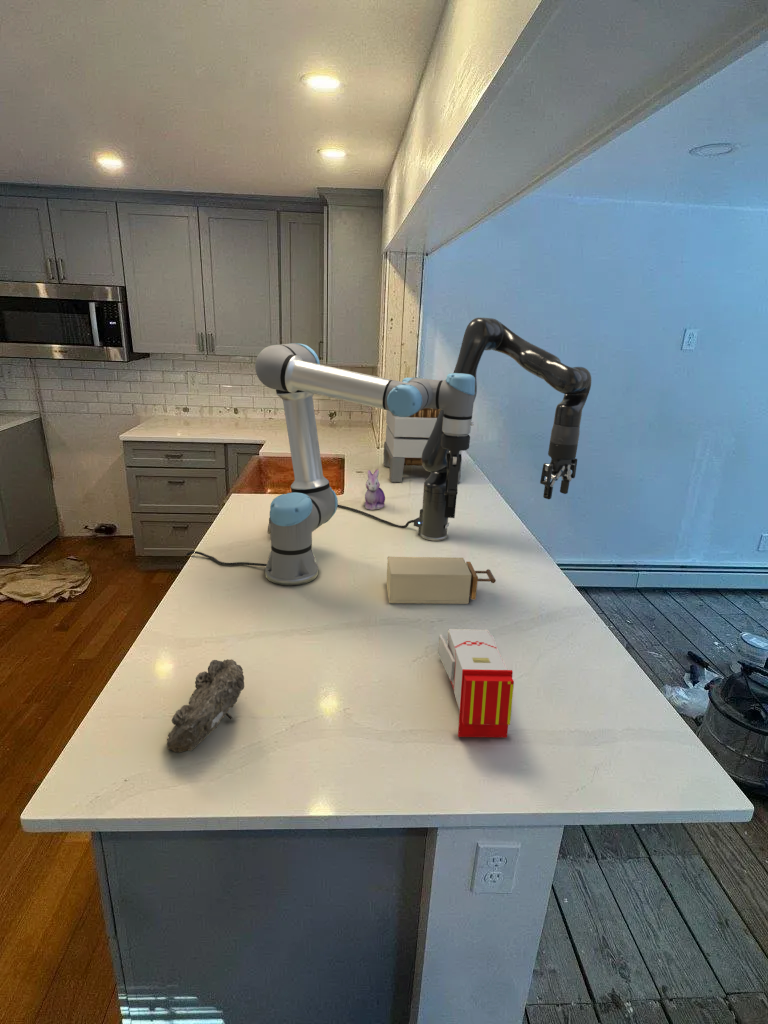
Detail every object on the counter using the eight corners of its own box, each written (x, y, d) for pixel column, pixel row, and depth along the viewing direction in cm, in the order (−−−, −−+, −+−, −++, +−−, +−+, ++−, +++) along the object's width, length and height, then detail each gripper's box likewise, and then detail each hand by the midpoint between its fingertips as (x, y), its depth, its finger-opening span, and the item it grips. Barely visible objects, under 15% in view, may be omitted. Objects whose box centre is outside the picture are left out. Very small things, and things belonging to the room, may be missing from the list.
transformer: (382, 463, 289) (386, 382, 275) (445, 464, 293) (451, 384, 279) (390, 482, 257) (394, 392, 243) (460, 483, 261) (468, 394, 247)
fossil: (192, 660, 117) (244, 628, 112) (224, 691, 120) (276, 661, 115) (142, 746, 98) (202, 712, 93) (182, 779, 101) (242, 748, 96)
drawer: (487, 583, 164) (489, 561, 162) (495, 599, 155) (498, 577, 153) (397, 582, 162) (399, 560, 160) (401, 599, 153) (402, 576, 151)
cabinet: (460, 585, 165) (463, 557, 162) (468, 603, 154) (471, 574, 151) (386, 584, 163) (387, 556, 160) (389, 603, 153) (390, 573, 150)
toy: (488, 613, 130) (523, 677, 101) (484, 667, 133) (517, 744, 104) (435, 612, 130) (455, 676, 101) (432, 666, 133) (451, 743, 103)
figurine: (369, 511, 219) (370, 474, 214) (358, 503, 228) (359, 467, 223) (390, 509, 224) (392, 472, 219) (378, 501, 232) (380, 465, 227)
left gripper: (472, 445, 138) (464, 526, 146) (468, 425, 162) (461, 496, 169) (441, 442, 139) (435, 523, 146) (442, 423, 162) (436, 494, 170)
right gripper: (566, 435, 165) (557, 488, 170) (537, 440, 156) (530, 496, 161) (589, 440, 160) (580, 495, 165) (561, 446, 151) (552, 504, 156)
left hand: (449, 509), depth 158 cm, fingers open, 13 cm apart
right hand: (555, 495), depth 163 cm, fingers open, 8 cm apart
